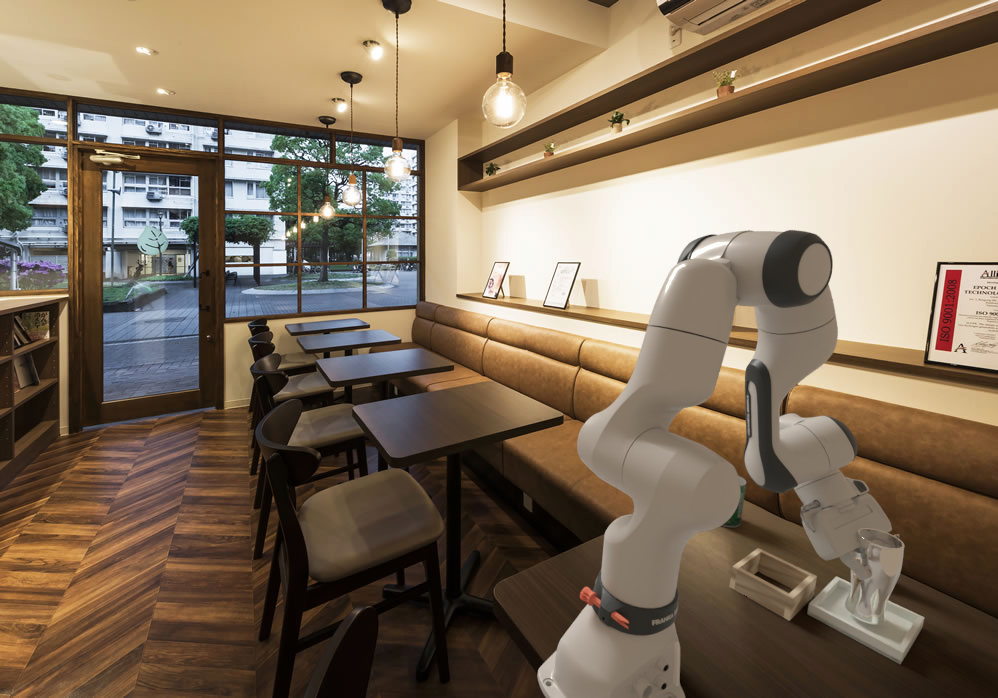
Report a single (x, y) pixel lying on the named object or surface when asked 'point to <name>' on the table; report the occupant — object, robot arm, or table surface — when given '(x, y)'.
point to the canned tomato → (737, 515)
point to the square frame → (768, 593)
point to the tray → (881, 638)
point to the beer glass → (875, 576)
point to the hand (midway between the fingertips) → (878, 571)
